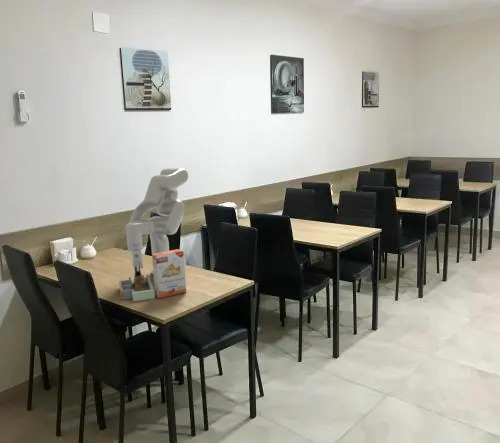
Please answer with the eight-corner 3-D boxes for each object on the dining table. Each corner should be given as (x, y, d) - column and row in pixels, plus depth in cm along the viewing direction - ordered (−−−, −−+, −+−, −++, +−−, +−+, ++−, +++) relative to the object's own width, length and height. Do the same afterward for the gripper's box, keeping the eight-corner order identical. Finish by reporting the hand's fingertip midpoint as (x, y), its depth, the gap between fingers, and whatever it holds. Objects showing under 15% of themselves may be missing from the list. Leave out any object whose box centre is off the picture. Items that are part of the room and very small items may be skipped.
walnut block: (144, 284, 250) (143, 275, 249) (145, 287, 246) (144, 277, 245) (134, 285, 249) (133, 276, 248) (135, 288, 244) (134, 278, 243)
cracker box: (159, 299, 226) (155, 255, 222) (155, 295, 231) (151, 253, 227) (187, 292, 233) (183, 250, 229) (182, 289, 238) (178, 248, 234)
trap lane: (148, 282, 253) (148, 274, 252) (154, 298, 228) (154, 289, 227) (119, 286, 249) (118, 278, 248) (122, 302, 224) (121, 294, 223)
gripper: (143, 248, 244) (147, 283, 247) (141, 242, 258) (144, 275, 261) (128, 250, 242) (132, 285, 245) (126, 244, 256) (130, 277, 259)
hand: (138, 280), depth 253 cm, fingers closed
